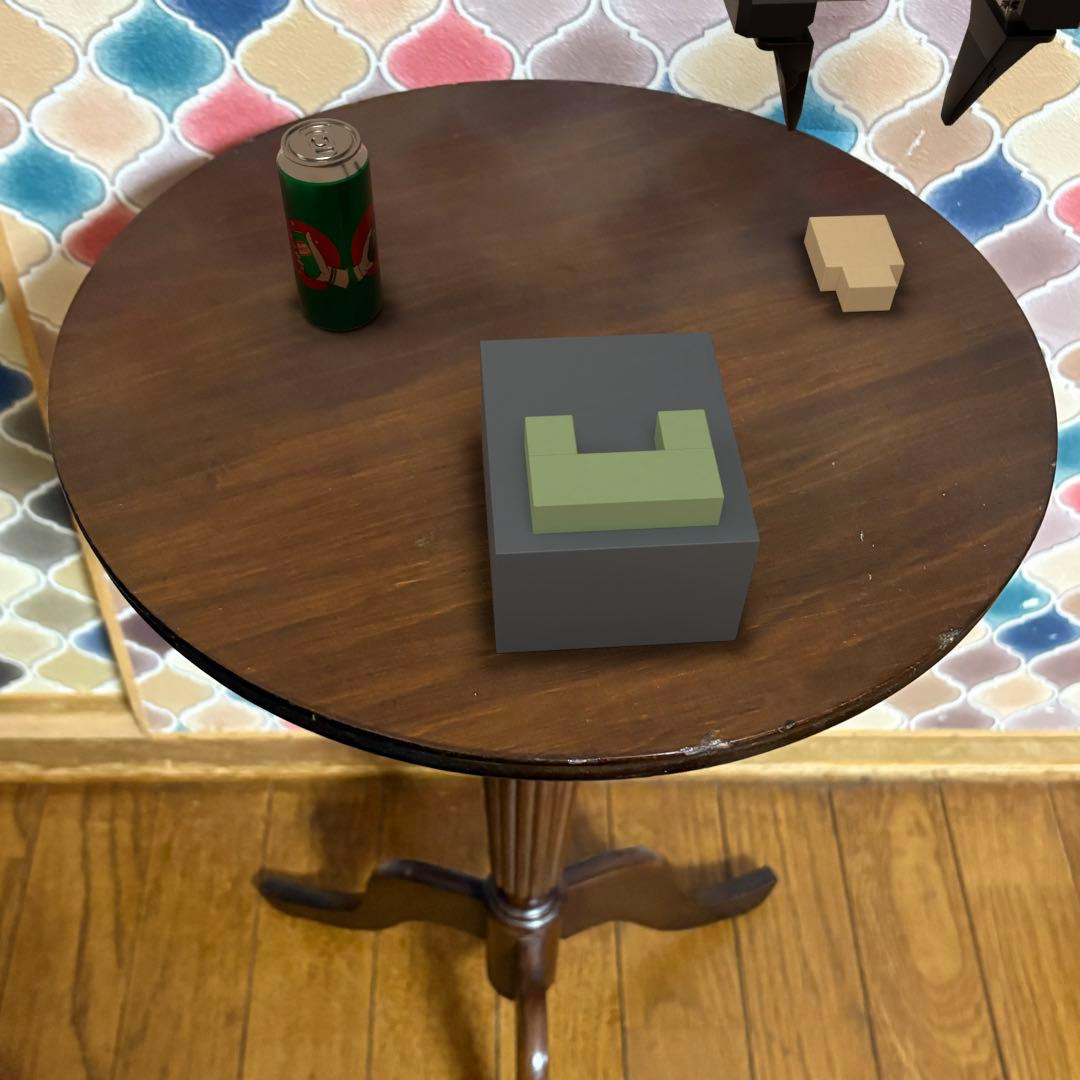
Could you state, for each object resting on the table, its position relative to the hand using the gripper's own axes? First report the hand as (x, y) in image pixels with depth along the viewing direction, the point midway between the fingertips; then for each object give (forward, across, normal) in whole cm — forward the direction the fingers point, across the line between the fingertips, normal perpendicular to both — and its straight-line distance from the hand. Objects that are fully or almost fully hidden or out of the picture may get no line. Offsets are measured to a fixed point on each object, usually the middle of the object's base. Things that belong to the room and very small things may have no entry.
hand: (868, 124), depth 74 cm
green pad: (+3, +17, +24) cm, 30 cm away
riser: (+11, +17, +21) cm, 29 cm away
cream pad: (+11, -1, +1) cm, 11 cm away
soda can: (+11, +31, +2) cm, 33 cm away
